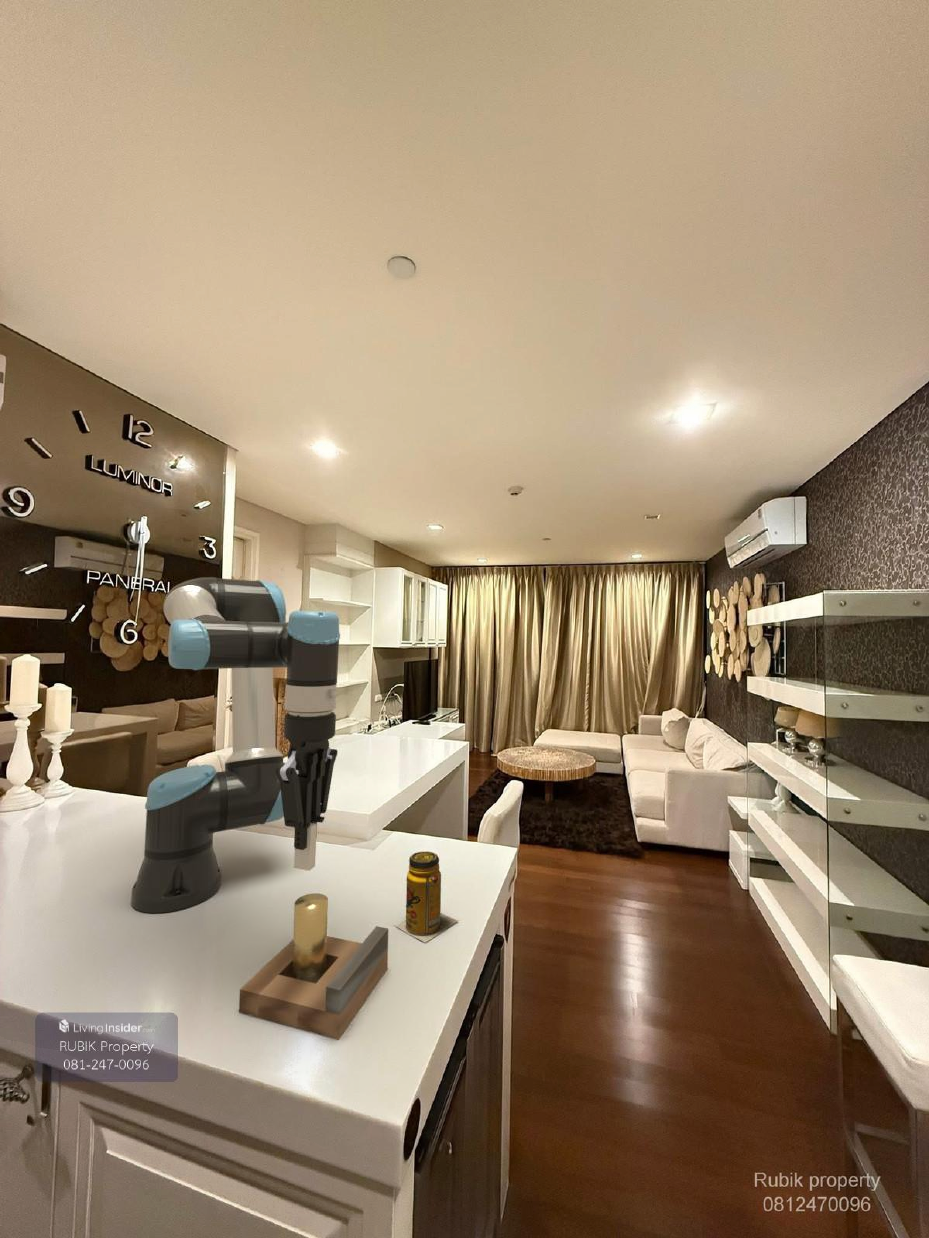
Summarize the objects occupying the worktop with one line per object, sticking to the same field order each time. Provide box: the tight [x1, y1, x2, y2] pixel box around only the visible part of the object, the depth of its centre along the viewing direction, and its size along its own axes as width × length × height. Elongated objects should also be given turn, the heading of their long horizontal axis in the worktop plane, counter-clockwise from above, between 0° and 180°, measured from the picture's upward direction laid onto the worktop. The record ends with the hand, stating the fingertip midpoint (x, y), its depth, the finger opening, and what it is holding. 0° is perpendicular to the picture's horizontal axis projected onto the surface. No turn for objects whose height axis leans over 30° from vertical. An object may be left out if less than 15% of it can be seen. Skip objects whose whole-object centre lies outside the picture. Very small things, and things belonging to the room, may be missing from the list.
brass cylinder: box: [292, 892, 329, 984], centre depth 71 cm, size 5×5×12 cm
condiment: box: [395, 851, 459, 943], centre depth 88 cm, size 7×8×12 cm
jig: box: [238, 925, 389, 1040], centre depth 71 cm, size 15×14×6 cm
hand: (304, 866), depth 76 cm, fingers closed
